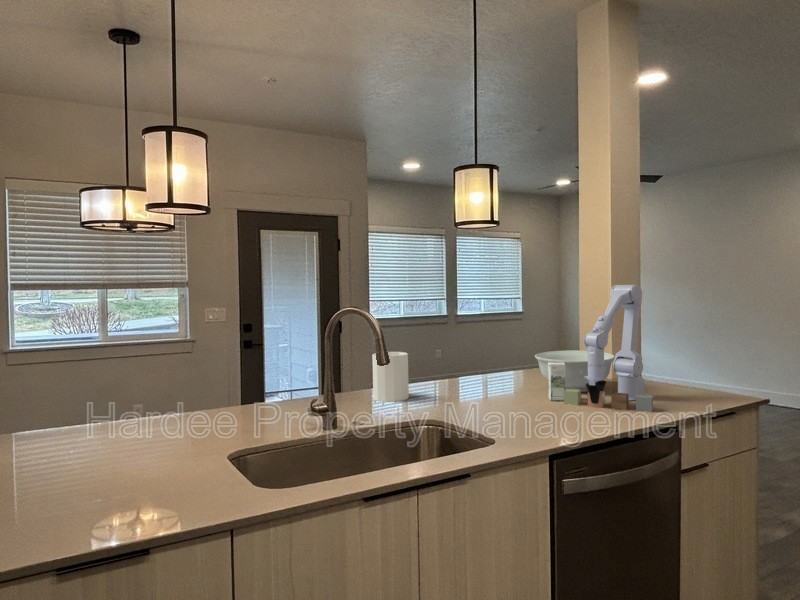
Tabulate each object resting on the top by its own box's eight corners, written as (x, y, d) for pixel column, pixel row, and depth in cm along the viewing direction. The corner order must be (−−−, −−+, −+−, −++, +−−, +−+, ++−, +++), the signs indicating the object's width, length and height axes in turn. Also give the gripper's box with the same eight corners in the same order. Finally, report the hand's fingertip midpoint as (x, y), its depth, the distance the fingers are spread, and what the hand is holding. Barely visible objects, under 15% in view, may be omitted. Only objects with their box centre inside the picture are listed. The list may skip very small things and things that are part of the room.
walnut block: (614, 406, 205) (613, 392, 205) (628, 407, 203) (628, 393, 203) (611, 408, 201) (611, 394, 201) (626, 410, 198) (626, 396, 198)
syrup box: (563, 398, 220) (562, 361, 220) (566, 401, 214) (565, 363, 214) (548, 398, 221) (547, 361, 220) (550, 401, 215) (550, 363, 214)
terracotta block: (590, 403, 209) (590, 390, 209) (604, 404, 207) (604, 391, 207) (587, 406, 205) (587, 392, 205) (602, 407, 203) (602, 393, 202)
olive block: (567, 401, 214) (567, 388, 214) (581, 402, 211) (580, 389, 211) (564, 404, 210) (564, 391, 210) (577, 405, 207) (577, 392, 207)
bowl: (544, 397, 223) (544, 360, 222) (528, 382, 255) (528, 350, 254) (626, 396, 221) (626, 359, 221) (600, 381, 254) (600, 349, 253)
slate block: (638, 408, 201) (638, 394, 201) (653, 409, 199) (653, 395, 198) (636, 411, 197) (636, 396, 197) (651, 412, 194) (651, 398, 194)
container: (393, 403, 218) (392, 357, 217) (365, 399, 226) (364, 354, 226) (415, 396, 229) (414, 352, 229) (387, 393, 238) (386, 350, 237)
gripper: (589, 361, 214) (589, 397, 214) (580, 367, 201) (580, 404, 202) (608, 362, 210) (608, 398, 211) (600, 368, 198) (601, 406, 198)
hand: (596, 401), depth 206 cm, fingers closed on terracotta block, 5 cm apart
